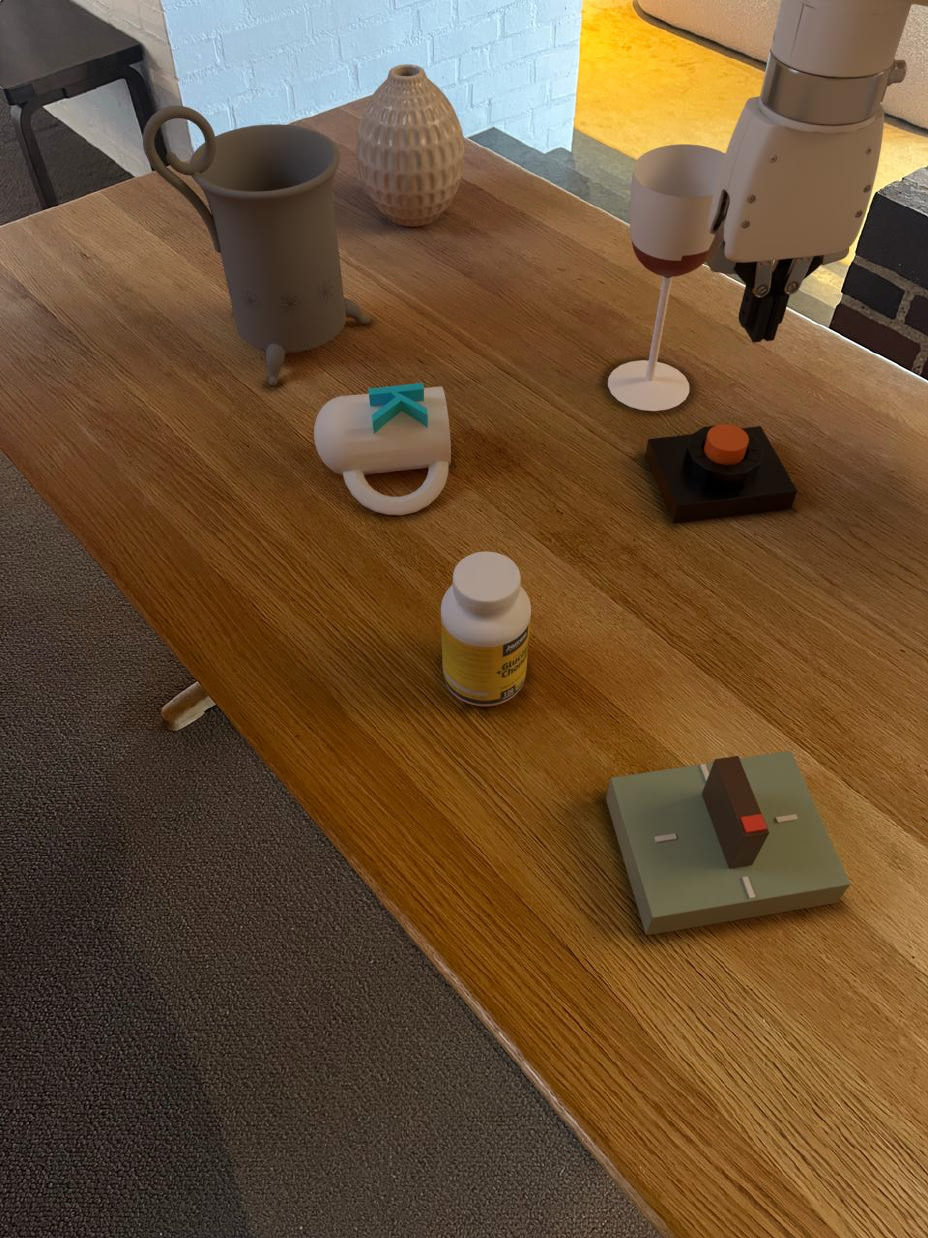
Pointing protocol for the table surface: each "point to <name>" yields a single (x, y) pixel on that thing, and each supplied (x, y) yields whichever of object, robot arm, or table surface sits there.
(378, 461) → the mug
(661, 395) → the wineglass
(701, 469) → the button block
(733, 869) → the panel
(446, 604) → the pill bottle
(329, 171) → the mug
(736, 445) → the button
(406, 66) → the vase
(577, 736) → the table surface
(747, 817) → the handle
